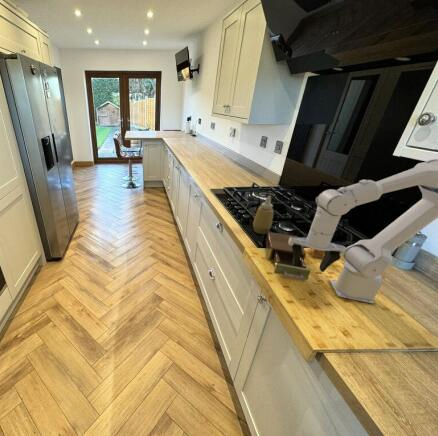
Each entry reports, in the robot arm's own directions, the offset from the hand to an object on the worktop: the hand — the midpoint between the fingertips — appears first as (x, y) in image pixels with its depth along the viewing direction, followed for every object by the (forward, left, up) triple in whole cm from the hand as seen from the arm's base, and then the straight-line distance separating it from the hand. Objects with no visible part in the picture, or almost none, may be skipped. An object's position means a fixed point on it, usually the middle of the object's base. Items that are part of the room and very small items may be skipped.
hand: (307, 267), depth 75 cm
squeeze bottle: (+9, -37, -9) cm, 39 cm away
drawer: (+2, -8, -8) cm, 11 cm away
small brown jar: (-11, -25, -9) cm, 28 cm away
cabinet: (+2, -20, -9) cm, 22 cm away
